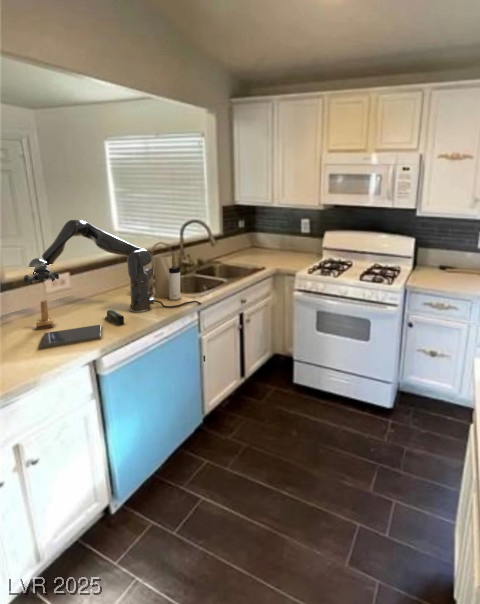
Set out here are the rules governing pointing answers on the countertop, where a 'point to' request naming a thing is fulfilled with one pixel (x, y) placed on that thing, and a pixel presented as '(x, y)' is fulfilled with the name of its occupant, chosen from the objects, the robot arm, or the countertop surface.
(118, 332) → the countertop surface
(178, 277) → the travel mug
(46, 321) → the brush
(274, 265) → the countertop surface
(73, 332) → the slate board
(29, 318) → the countertop surface
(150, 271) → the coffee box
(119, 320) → the dark green rounded bar
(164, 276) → the tall beige box
